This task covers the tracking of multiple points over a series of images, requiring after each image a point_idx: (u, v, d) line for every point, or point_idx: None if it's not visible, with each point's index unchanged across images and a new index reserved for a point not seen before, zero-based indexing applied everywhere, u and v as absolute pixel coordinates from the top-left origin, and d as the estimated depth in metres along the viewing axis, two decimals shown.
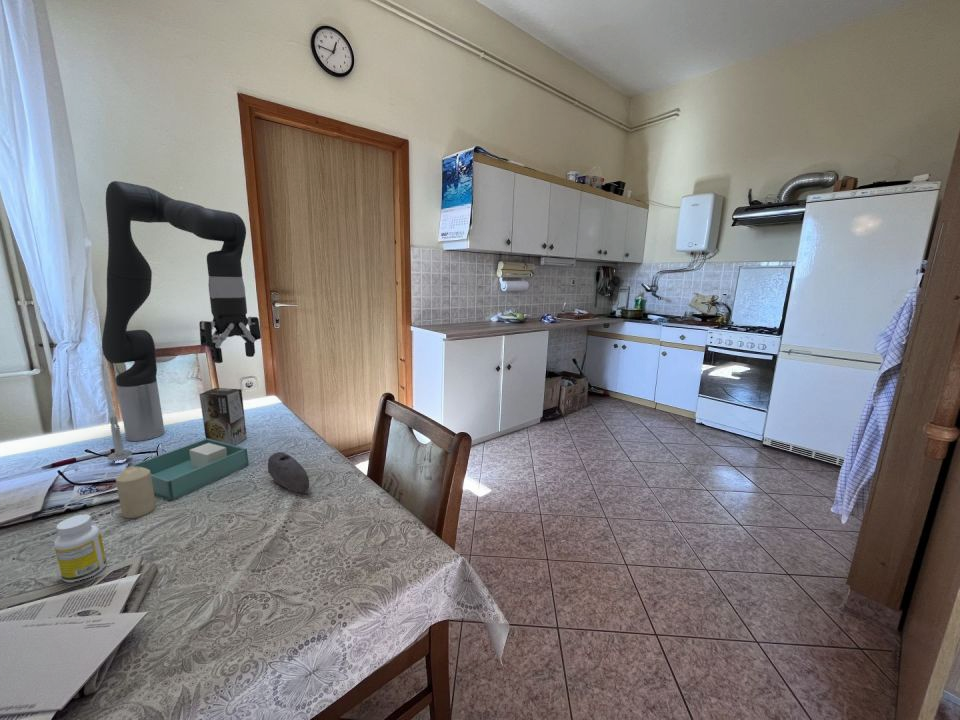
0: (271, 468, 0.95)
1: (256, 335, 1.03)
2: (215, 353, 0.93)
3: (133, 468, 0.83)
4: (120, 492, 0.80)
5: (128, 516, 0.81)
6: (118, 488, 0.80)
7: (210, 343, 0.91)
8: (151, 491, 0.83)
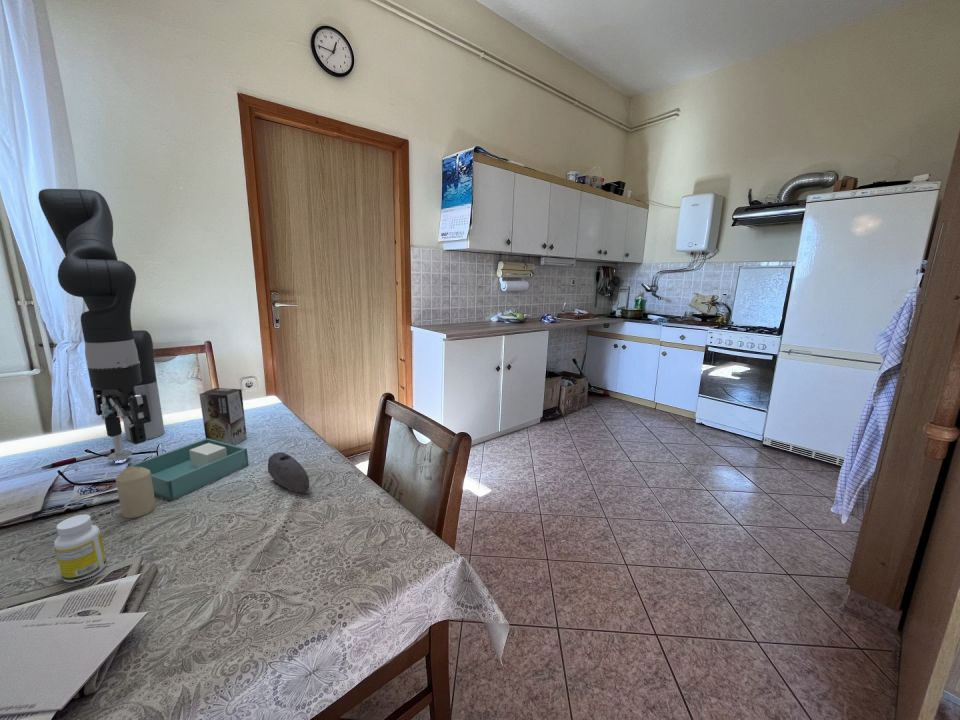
0: (271, 468, 0.95)
1: None
2: (143, 430, 0.78)
3: (133, 468, 0.83)
4: (120, 492, 0.80)
5: (128, 516, 0.81)
6: (118, 488, 0.80)
7: None
8: (151, 491, 0.83)
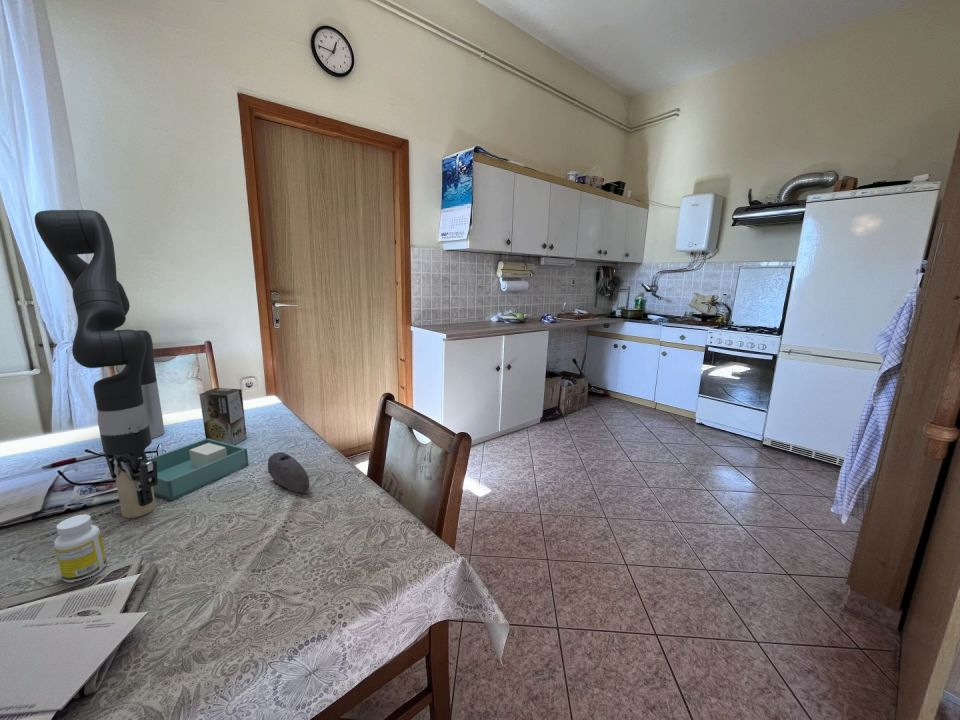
0: (271, 468, 0.95)
1: None
2: (150, 492, 0.82)
3: None
4: (120, 492, 0.80)
5: (128, 516, 0.81)
6: (118, 488, 0.80)
7: None
8: None
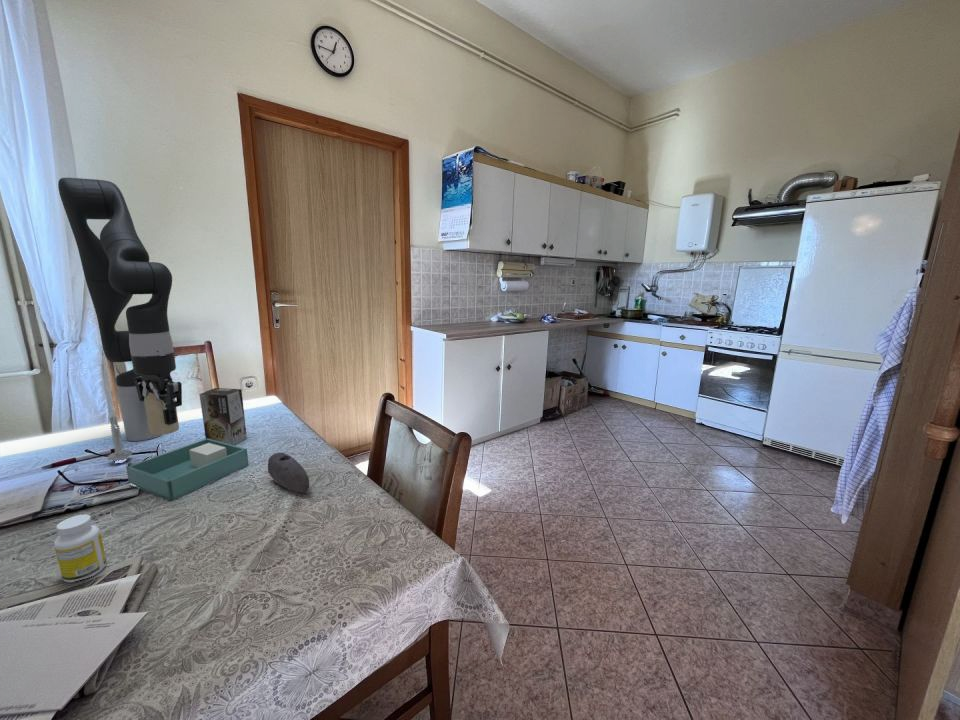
0: (271, 469, 0.95)
1: None
2: (175, 413, 0.90)
3: None
4: (148, 411, 0.88)
5: (155, 433, 0.89)
6: (146, 407, 0.88)
7: None
8: None
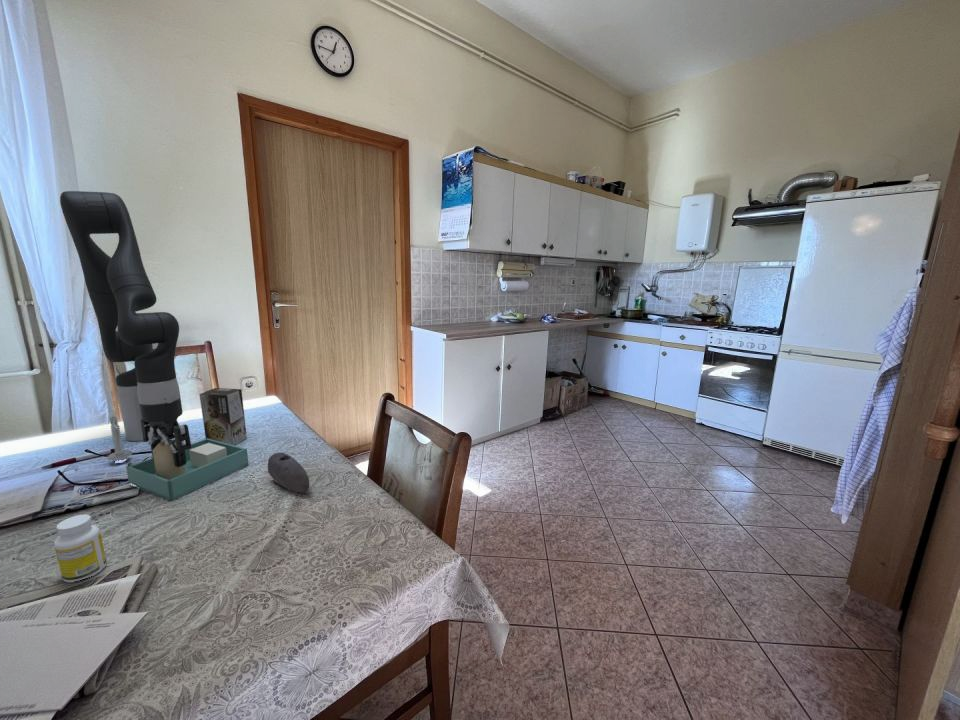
0: (271, 468, 0.95)
1: None
2: (184, 455, 0.92)
3: None
4: (157, 462, 0.91)
5: None
6: (155, 458, 0.91)
7: None
8: None
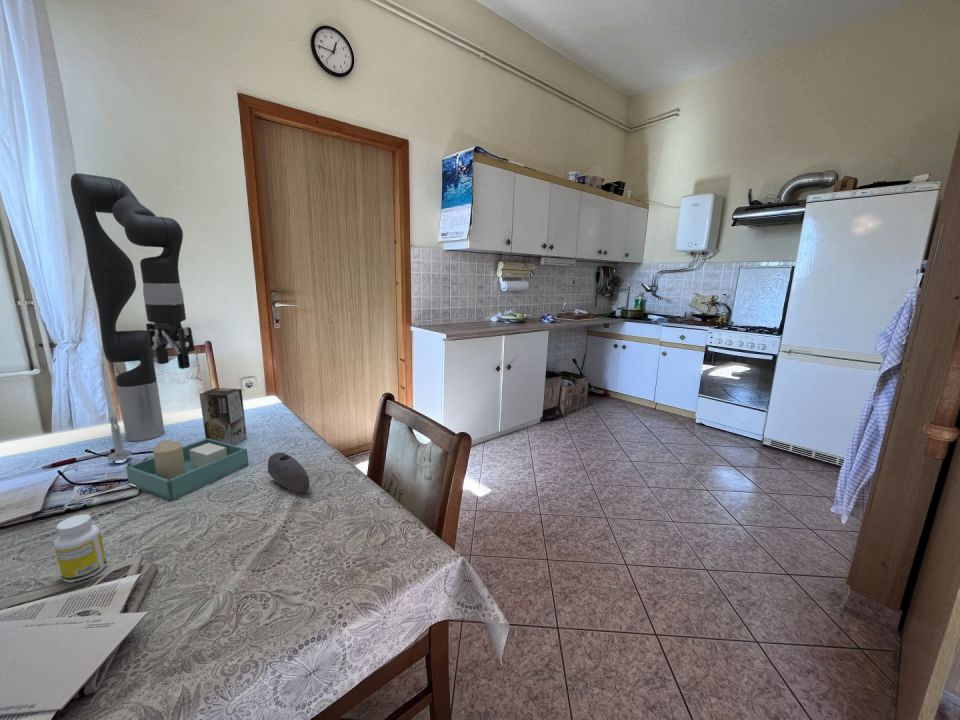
0: (271, 468, 0.95)
1: None
2: (188, 358, 0.96)
3: (167, 442, 0.94)
4: (157, 462, 0.91)
5: None
6: (155, 458, 0.91)
7: None
8: (183, 462, 0.94)
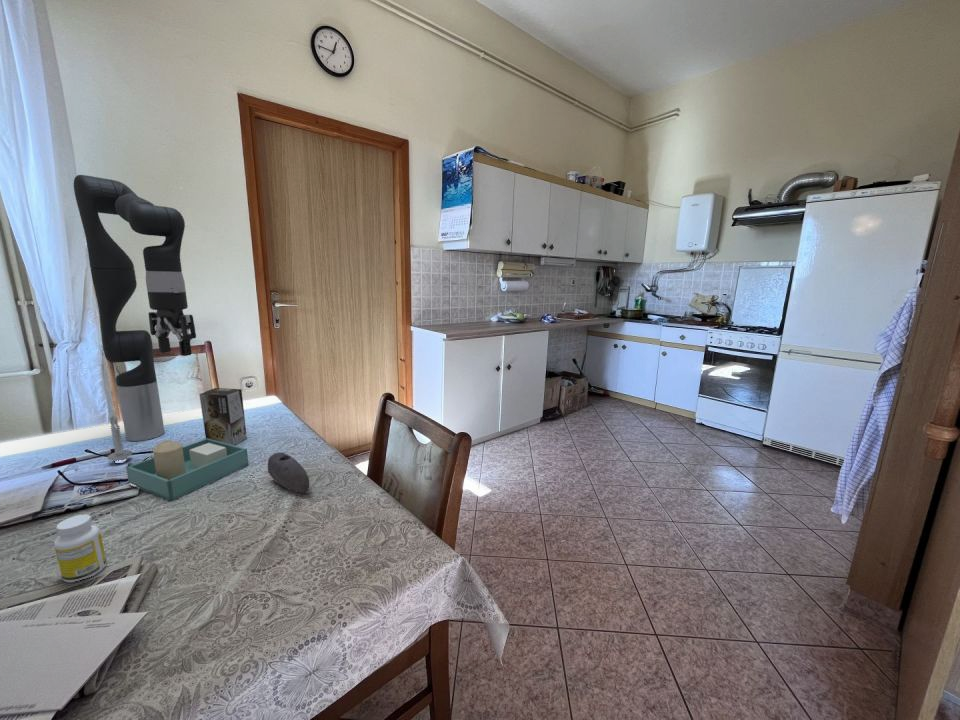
0: (271, 468, 0.95)
1: None
2: (189, 345, 0.98)
3: (167, 442, 0.94)
4: (157, 462, 0.91)
5: None
6: (155, 458, 0.91)
7: None
8: (183, 462, 0.94)
